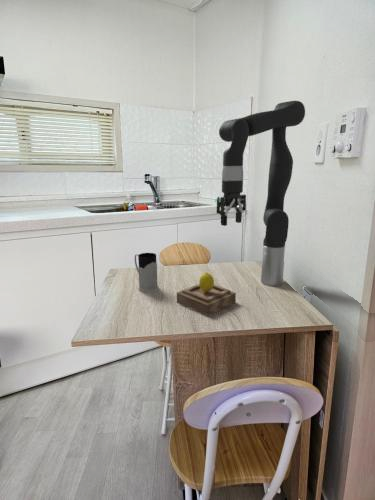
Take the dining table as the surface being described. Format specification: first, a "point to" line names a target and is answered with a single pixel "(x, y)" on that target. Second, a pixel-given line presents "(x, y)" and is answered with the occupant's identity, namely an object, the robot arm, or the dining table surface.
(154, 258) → the glass holder
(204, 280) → the lemon
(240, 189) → the robot arm
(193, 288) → the brown wooden crate
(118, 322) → the dining table surface
